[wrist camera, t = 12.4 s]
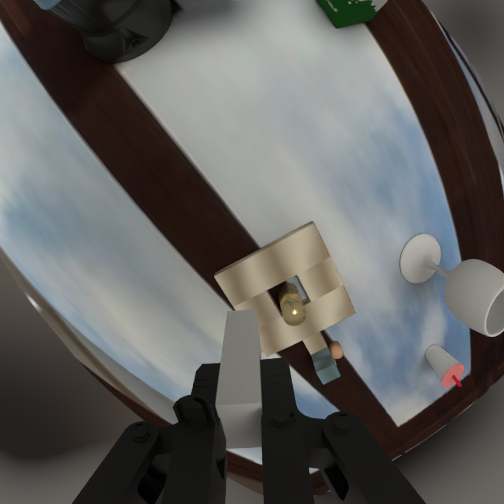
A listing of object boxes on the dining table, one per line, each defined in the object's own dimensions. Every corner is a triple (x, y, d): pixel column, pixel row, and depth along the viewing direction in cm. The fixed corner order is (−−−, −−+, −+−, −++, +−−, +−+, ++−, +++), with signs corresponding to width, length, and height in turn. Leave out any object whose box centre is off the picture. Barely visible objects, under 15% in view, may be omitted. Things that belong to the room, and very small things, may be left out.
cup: (430, 364, 49) (457, 398, 38) (416, 358, 49) (444, 394, 37) (446, 344, 48) (476, 376, 36) (432, 336, 47) (464, 370, 36)
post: (275, 297, 45) (279, 322, 37) (282, 280, 44) (288, 302, 36) (293, 302, 45) (301, 328, 37) (300, 285, 44) (310, 309, 36)
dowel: (326, 349, 47) (329, 357, 45) (331, 340, 47) (335, 348, 44) (336, 351, 47) (340, 360, 45) (341, 342, 47) (345, 350, 44)
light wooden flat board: (286, 381, 49) (289, 405, 43) (215, 272, 43) (209, 289, 37) (367, 342, 47) (379, 362, 41) (312, 221, 41) (322, 229, 35)
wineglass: (437, 227, 42) (526, 264, 21) (441, 273, 44) (519, 325, 24) (395, 242, 42) (480, 292, 22) (402, 290, 44) (474, 356, 24)
